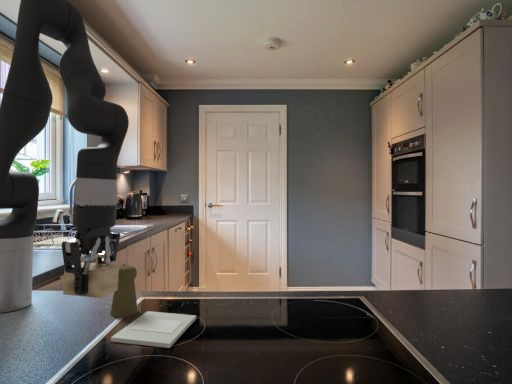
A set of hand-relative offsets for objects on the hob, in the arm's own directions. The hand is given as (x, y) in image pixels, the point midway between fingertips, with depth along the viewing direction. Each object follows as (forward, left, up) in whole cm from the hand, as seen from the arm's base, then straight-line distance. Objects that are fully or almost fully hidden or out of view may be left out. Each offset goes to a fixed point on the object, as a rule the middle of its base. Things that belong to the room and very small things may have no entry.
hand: (91, 288), depth 61 cm
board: (+10, +7, -10) cm, 16 cm away
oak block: (0, 0, -1) cm, 1 cm away
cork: (-2, +14, -10) cm, 17 cm away
